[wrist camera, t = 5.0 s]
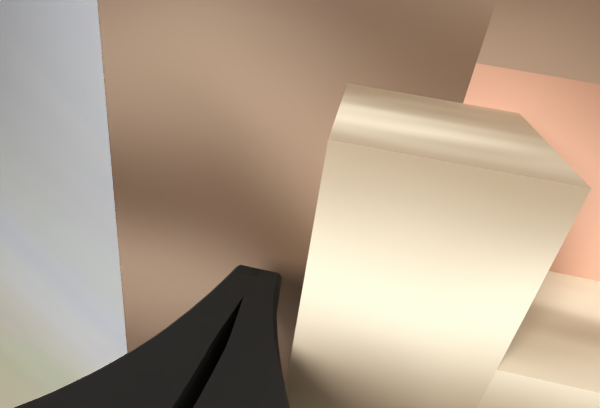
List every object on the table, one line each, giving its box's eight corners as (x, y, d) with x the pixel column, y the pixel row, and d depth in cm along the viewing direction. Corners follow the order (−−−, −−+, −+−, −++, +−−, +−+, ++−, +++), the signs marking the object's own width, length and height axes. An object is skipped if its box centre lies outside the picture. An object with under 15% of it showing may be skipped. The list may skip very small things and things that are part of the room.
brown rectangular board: (747, 545, 16) (756, 558, 16) (136, 390, 18) (131, 398, 18) (1441, 31, 7) (1495, 34, 7) (94, -157, 9) (83, -162, 9)
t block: (623, 485, 15) (694, 639, 12) (288, 404, 16) (262, 522, 13) (901, 179, 9) (1215, 304, 6) (347, 83, 10) (327, 139, 7)
